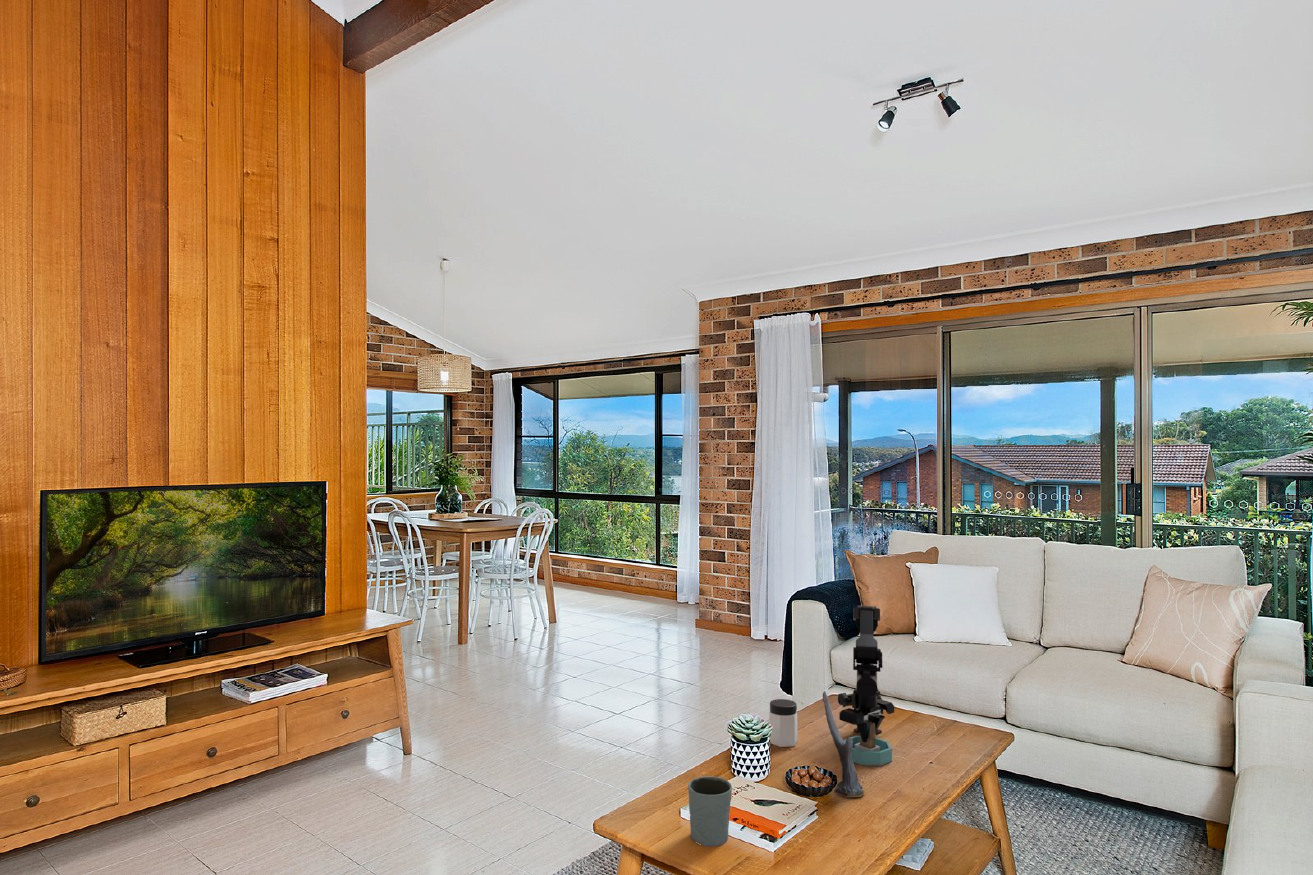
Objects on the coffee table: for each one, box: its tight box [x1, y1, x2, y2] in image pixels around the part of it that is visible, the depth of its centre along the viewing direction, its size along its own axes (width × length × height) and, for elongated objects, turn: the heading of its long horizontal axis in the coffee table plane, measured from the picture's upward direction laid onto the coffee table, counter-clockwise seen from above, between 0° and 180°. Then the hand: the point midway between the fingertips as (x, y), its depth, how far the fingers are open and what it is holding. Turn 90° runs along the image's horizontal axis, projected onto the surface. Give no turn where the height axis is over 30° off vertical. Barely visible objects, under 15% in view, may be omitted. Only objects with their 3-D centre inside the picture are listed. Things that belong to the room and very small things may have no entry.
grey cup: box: [687, 775, 733, 847], centre depth 180 cm, size 10×10×12 cm
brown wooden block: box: [859, 722, 876, 749], centre depth 229 cm, size 2×4×8 cm, turn 37°
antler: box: [822, 691, 866, 799], centre depth 206 cm, size 12×8×25 cm
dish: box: [843, 735, 893, 767], centre depth 229 cm, size 13×13×4 cm
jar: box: [768, 698, 798, 748], centre depth 241 cm, size 9×8×12 cm
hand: (867, 741), depth 229 cm, fingers closed on brown wooden block, 2 cm apart
